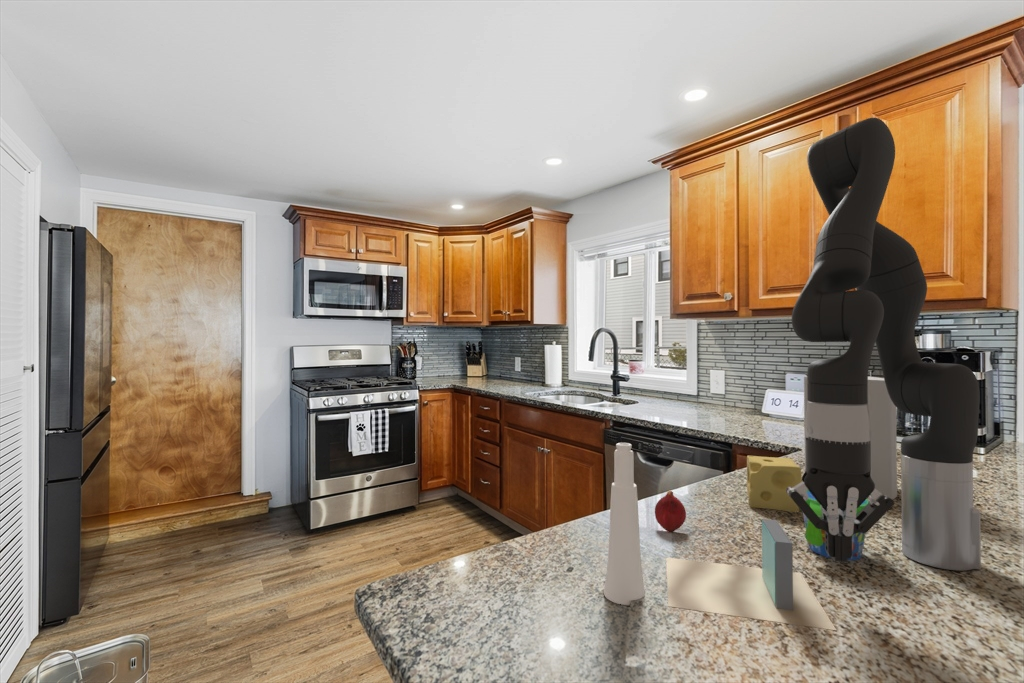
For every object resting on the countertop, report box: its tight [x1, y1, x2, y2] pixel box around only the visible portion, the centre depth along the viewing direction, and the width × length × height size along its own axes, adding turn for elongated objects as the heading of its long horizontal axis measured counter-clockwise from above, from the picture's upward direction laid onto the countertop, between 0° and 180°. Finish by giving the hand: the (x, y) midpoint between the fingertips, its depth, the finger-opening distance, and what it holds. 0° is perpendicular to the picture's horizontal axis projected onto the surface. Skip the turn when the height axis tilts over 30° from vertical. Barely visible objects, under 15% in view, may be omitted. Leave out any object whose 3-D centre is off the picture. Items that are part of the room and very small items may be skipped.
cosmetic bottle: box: [603, 442, 646, 606], centre depth 71 cm, size 6×6×22 cm
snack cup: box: [802, 490, 868, 562], centre depth 84 cm, size 16×10×10 cm
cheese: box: [746, 455, 803, 513], centre depth 112 cm, size 10×11×10 cm
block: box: [761, 518, 794, 611], centre depth 70 cm, size 2×9×9 cm, turn 163°
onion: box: [654, 490, 687, 533], centre depth 95 cm, size 6×6×8 cm
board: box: [665, 556, 837, 632], centre depth 71 cm, size 20×16×1 cm
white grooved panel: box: [803, 376, 898, 500], centre depth 127 cm, size 19×15×28 cm
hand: (838, 559), depth 68 cm, fingers closed
